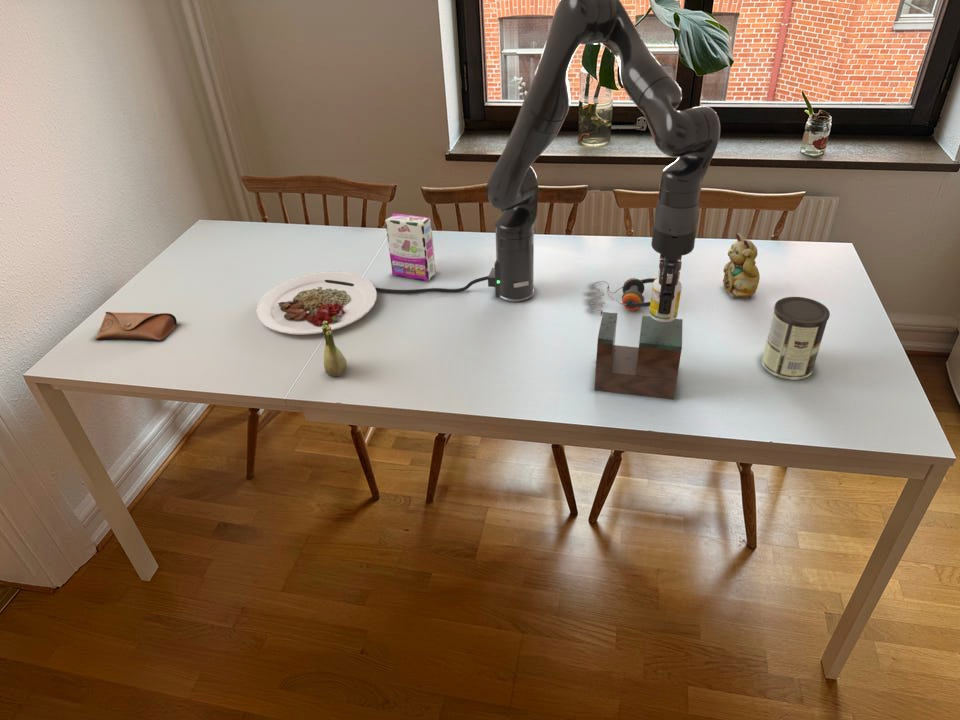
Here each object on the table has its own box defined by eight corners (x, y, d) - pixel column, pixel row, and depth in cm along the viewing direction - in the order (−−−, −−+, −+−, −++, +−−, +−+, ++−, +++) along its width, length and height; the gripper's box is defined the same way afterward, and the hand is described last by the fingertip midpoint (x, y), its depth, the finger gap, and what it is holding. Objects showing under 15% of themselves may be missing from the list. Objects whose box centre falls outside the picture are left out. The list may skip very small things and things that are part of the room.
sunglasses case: (91, 339, 165) (90, 312, 165) (109, 338, 172) (108, 311, 172) (162, 340, 164) (161, 312, 163) (178, 339, 171) (177, 312, 170)
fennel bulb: (330, 363, 154) (320, 318, 147) (351, 364, 153) (342, 319, 146) (322, 379, 149) (312, 333, 142) (344, 380, 149) (335, 334, 142)
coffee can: (792, 347, 151) (807, 292, 143) (823, 374, 143) (841, 317, 135) (751, 357, 149) (764, 301, 141) (780, 384, 141) (796, 327, 133)
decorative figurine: (714, 285, 174) (724, 230, 165) (744, 280, 176) (755, 226, 167) (734, 304, 167) (745, 248, 158) (765, 298, 168) (778, 243, 159)
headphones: (587, 274, 176) (667, 262, 170) (591, 291, 179) (670, 281, 173) (582, 308, 163) (668, 297, 157) (586, 327, 166) (671, 317, 159)
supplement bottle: (659, 325, 131) (665, 281, 125) (643, 312, 135) (648, 269, 129) (682, 318, 132) (689, 275, 127) (666, 305, 137) (672, 262, 131)
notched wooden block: (594, 390, 142) (597, 338, 134) (599, 362, 150) (602, 311, 142) (673, 399, 139) (682, 346, 131) (674, 370, 146) (682, 319, 139)
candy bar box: (436, 273, 186) (431, 217, 176) (428, 282, 182) (423, 225, 172) (400, 267, 189) (393, 212, 180) (391, 275, 186) (384, 219, 176)
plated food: (320, 267, 191) (318, 257, 189) (401, 296, 177) (400, 284, 175) (233, 317, 172) (229, 305, 170) (316, 353, 157) (313, 341, 155)
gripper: (655, 206, 129) (646, 285, 139) (652, 240, 118) (642, 323, 128) (696, 208, 127) (684, 288, 137) (697, 243, 116) (684, 327, 126)
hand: (664, 304), depth 132 cm, fingers closed on supplement bottle, 5 cm apart
